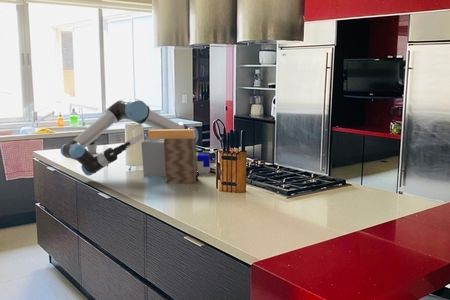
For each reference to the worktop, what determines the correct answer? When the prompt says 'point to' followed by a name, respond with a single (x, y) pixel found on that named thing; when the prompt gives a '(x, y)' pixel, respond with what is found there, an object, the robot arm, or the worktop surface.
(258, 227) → the worktop surface
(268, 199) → the worktop surface
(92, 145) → the house plant
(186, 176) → the walnut stand
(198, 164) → the puzzle toy
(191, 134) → the orange bar
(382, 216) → the worktop surface
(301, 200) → the worktop surface
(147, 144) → the plinth
